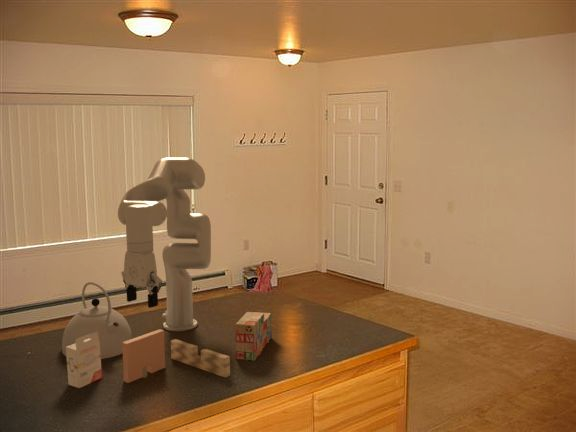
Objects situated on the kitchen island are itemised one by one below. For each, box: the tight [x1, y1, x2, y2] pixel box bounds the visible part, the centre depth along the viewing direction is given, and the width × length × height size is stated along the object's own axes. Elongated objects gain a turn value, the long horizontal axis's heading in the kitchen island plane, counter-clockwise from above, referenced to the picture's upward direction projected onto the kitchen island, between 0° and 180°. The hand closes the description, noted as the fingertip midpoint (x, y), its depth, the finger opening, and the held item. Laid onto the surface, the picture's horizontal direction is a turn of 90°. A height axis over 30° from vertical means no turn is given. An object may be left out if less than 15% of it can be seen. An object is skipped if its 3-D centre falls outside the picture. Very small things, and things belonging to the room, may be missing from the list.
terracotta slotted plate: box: [122, 329, 166, 384], centre depth 179 cm, size 2×14×12 cm, turn 142°
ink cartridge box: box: [65, 331, 103, 389], centre depth 174 cm, size 9×5×15 cm, turn 148°
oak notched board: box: [170, 338, 231, 379], centre depth 185 cm, size 24×2×6 cm, turn 52°
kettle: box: [61, 281, 133, 360], centre depth 200 cm, size 25×23×23 cm
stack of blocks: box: [235, 311, 273, 362], centre depth 200 cm, size 21×6×12 cm, turn 166°
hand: (142, 303), depth 176 cm, fingers open, 9 cm apart
